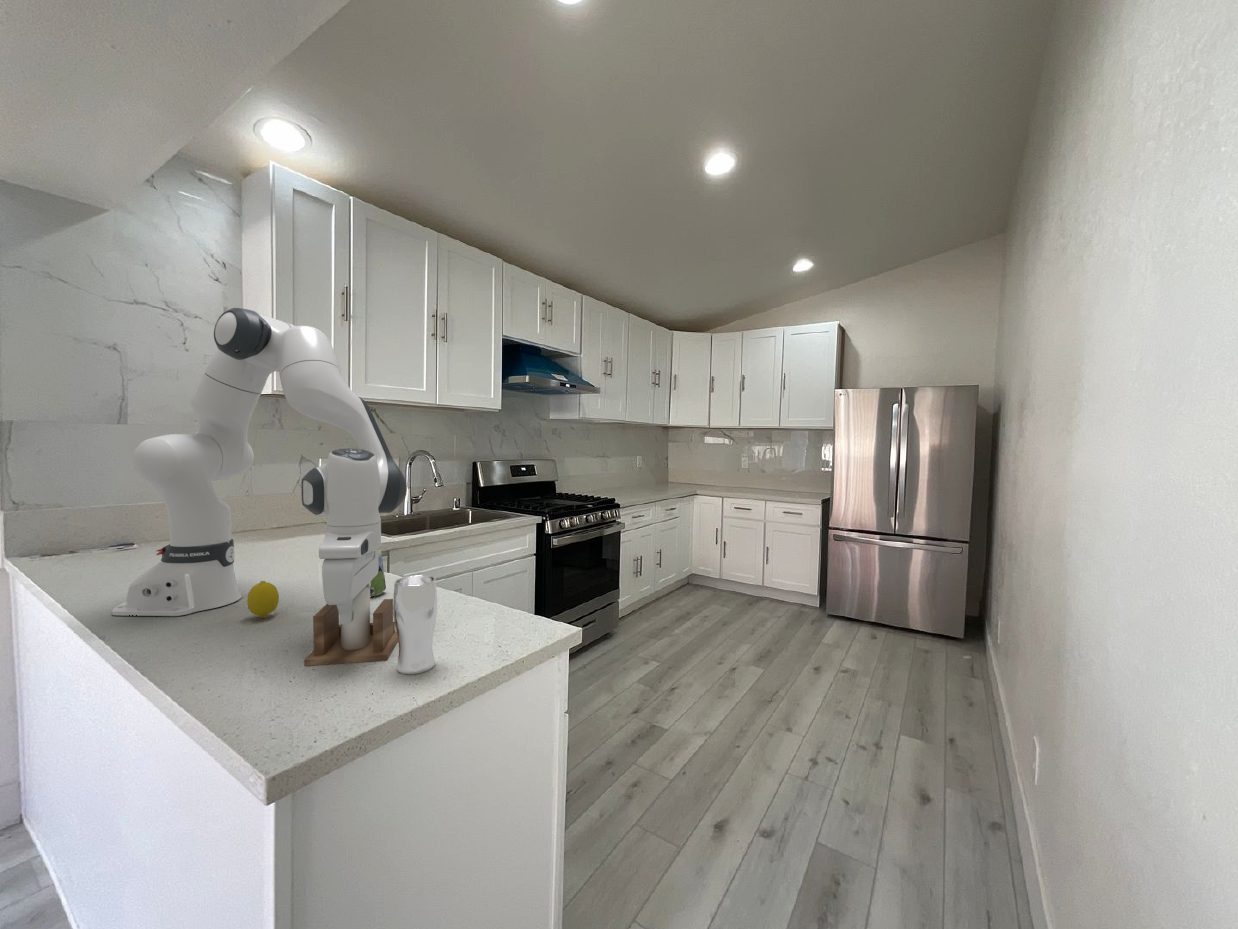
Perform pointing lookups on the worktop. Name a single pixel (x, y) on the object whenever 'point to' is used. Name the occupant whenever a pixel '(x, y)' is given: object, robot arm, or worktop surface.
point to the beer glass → (415, 622)
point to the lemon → (263, 599)
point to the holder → (330, 637)
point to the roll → (358, 623)
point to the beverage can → (378, 579)
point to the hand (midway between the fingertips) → (355, 613)
